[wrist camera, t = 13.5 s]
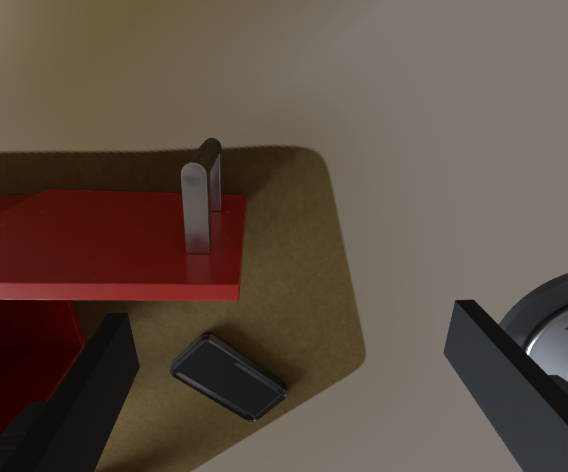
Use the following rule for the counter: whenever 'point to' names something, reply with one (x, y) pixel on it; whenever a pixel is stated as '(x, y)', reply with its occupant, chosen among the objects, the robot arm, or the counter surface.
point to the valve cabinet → (34, 345)
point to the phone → (228, 378)
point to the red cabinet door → (128, 241)
